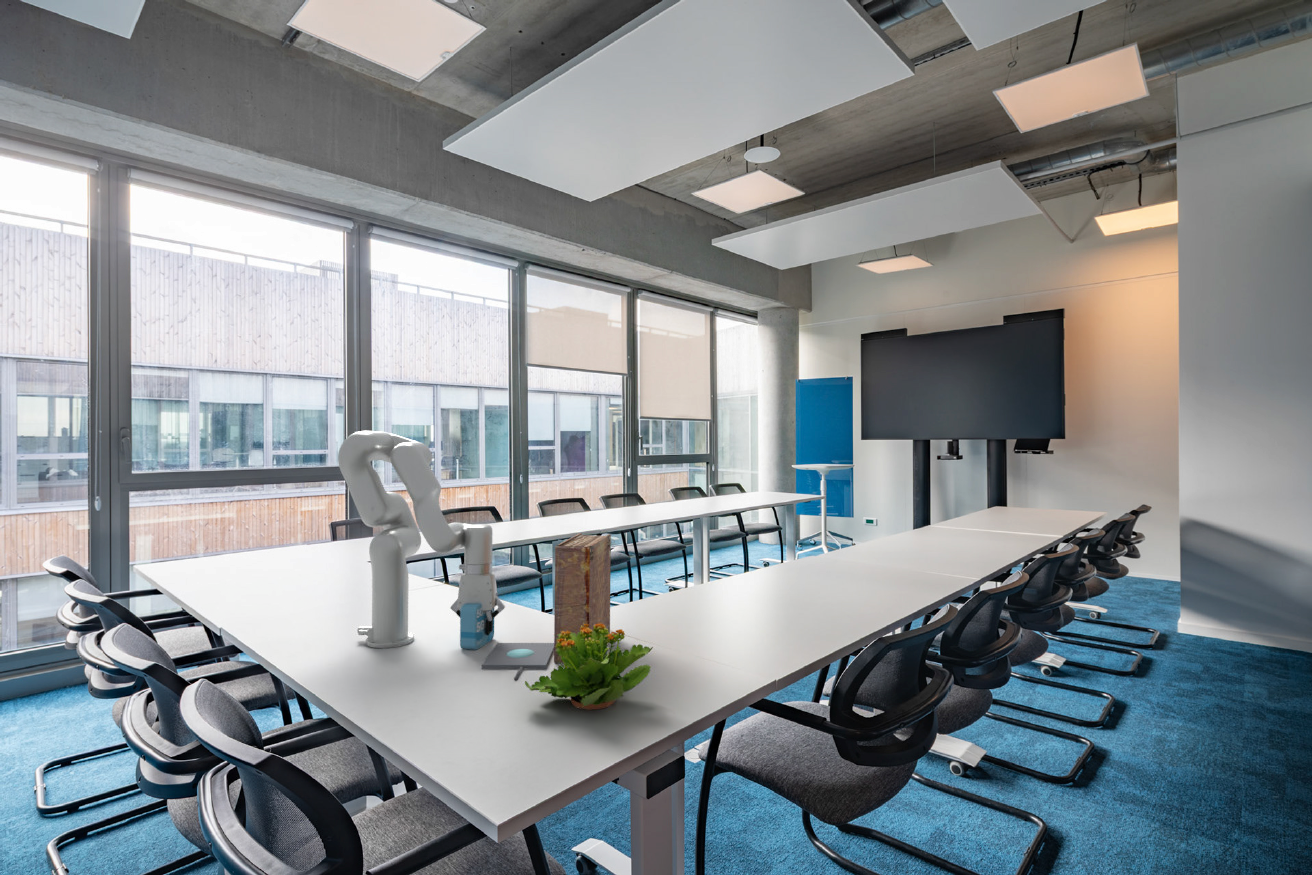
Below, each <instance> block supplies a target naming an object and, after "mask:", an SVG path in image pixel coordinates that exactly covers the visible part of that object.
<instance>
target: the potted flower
mask: <svg viewBox="0 0 1312 875" xmlns="http://www.w3.org/2000/svg"><path fill="white" fill-rule="evenodd" d="M588 626H589V624H584V627H583V626H582V625H581V628H580V629H579V630H580V632H578V633H577V635H576V633H572V632H570V631H566V632H564V631H562V632H561V634H557V636H558V637H559V638H557V639H556V642H557V644H556V648H557V649H556V652H557V654H559V656H561V658H560V659H561V660H562V661H563V663H560V662H559V663H558V664H560V665H558V667H557V668H555V667H554V668H553V669H552V670H551V672H550V677H549V675H546V676H545V675H540V677H539V679H538V680H537V681H535V682H534V683H533V684H532V685H531V686H530V684H529V682H527V680H525V681H524V685H525V686H526V688H528V689H529V690H530V691H532V692H533V691H538V692H539V693H547V694H548V695H550V696H551V697H553V698H558V699H568V698H570V702H571V704H572V705H573V706H574V707H576V708H577V709H582V710H588V711H589V710H601V709H605V708H608V707H609V706H612V705H613V704H614V703H615V701H616V700H618V699H620V698H622V697H623V696H624V693H626V692H628V691H630V690H632V689H634V688H635V687H636V686H638V685H639V684H640V683H642V682H643V680H644V679H646V678H647V676H649V673H650V671H651V668H652V666H651V665H650V664H649V665H648V664H644V665H639V666H638V667H637V666H636V667H634V668H633V669H630V671H628V672H626V673H625V674H624V675H623V676H622V673H623V672H624V671H625V670H627V668H628V667H630V666H632V665H633V664H634V663H635V662H637V661H638V660H639V659H641V658H643V657H644V656H647V655H648V654H649V653H651V651H652V650H653V648H654V646H652V647H650V646H643V644H637V645H636V644H632V646H631V648H630V650H629V649H628V648H627V649H624V650H623V651H622V649H621V648H620V646H619V644H620V642H622V640H625V637H626V636H625V635H626V633H625V630H623V629H620V628H619V629H616V630H615V631H610V634H609V632H608V629H606V628H605V625H604V624H602V623H597V624H595V625H594V626H593V627H594V630H591V629H589V627H588ZM606 634H607V635H606ZM615 643H617V645H616V648H615V649H613V648H614V647H615ZM609 644H610V647H608V645H609Z"/></svg>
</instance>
